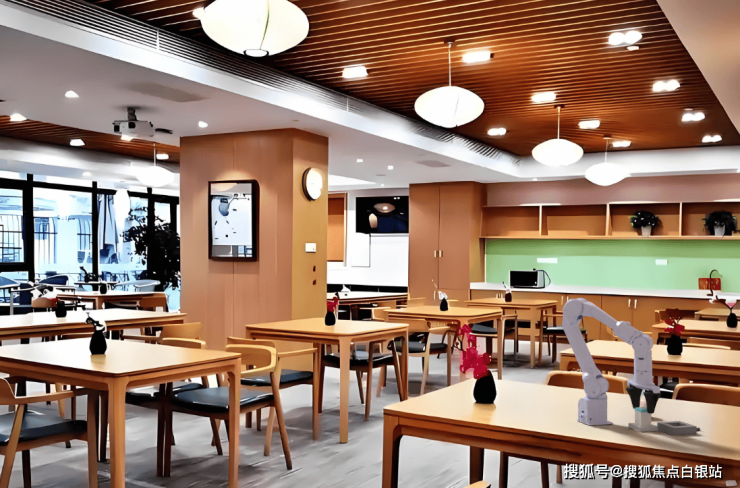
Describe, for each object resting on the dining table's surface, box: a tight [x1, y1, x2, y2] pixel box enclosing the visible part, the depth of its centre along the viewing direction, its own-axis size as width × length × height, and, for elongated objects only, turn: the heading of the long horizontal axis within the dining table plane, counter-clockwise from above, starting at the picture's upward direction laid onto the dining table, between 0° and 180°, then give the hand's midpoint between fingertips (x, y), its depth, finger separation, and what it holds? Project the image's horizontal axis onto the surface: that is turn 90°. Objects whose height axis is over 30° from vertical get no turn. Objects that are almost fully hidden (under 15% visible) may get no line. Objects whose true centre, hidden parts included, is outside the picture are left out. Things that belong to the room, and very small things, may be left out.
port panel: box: [656, 420, 701, 436], centre depth 229 cm, size 14×8×2 cm, turn 105°
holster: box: [627, 422, 659, 433], centre depth 232 cm, size 7×6×2 cm
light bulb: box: [633, 398, 653, 415], centre depth 249 cm, size 7×7×11 cm
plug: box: [634, 407, 652, 427], centre depth 232 cm, size 4×3×7 cm
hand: (643, 410), depth 232 cm, fingers open, 7 cm apart
